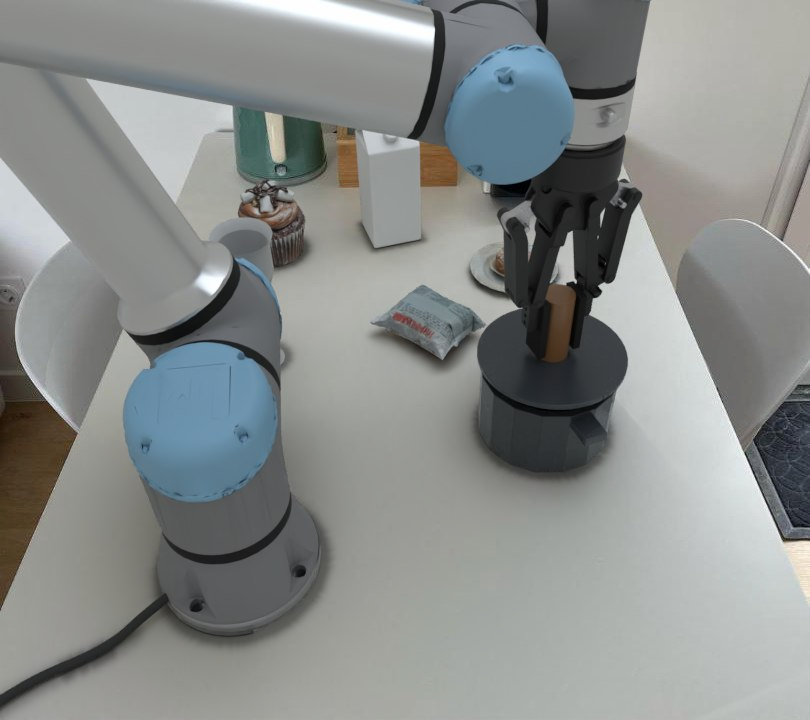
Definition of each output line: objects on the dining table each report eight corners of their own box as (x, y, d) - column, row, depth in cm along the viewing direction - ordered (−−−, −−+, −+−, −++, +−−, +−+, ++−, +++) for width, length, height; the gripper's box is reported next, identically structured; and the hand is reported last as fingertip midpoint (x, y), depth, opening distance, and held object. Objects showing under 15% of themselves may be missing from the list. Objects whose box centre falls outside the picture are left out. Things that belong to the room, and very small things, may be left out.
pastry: (515, 311, 105) (517, 282, 102) (451, 271, 112) (452, 243, 109) (575, 273, 111) (579, 245, 108) (511, 237, 118) (513, 210, 114)
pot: (525, 511, 82) (532, 452, 76) (449, 387, 95) (450, 328, 89) (644, 470, 85) (660, 411, 79) (554, 356, 99) (562, 298, 93)
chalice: (228, 349, 101) (200, 227, 89) (279, 332, 103) (259, 211, 91) (248, 385, 96) (220, 262, 84) (301, 367, 98) (282, 243, 86)
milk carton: (361, 223, 121) (352, 103, 108) (406, 215, 123) (403, 94, 110) (374, 249, 116) (366, 126, 103) (421, 240, 118) (419, 117, 105)
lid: (518, 432, 76) (524, 364, 70) (453, 335, 87) (454, 269, 81) (656, 388, 80) (673, 321, 74) (578, 300, 91) (588, 235, 85)
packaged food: (442, 374, 97) (443, 343, 93) (369, 333, 103) (368, 302, 99) (486, 338, 102) (488, 307, 98) (414, 301, 107) (414, 270, 104)
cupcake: (228, 259, 115) (215, 197, 109) (269, 225, 122) (259, 165, 115) (282, 277, 112) (273, 215, 105) (322, 242, 118) (315, 181, 111)
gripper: (510, 171, 62) (495, 391, 77) (692, 130, 66) (642, 347, 81) (470, 129, 67) (463, 343, 83) (640, 94, 71) (603, 304, 87)
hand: (552, 344), depth 82 cm, fingers closed on lid, 3 cm apart
